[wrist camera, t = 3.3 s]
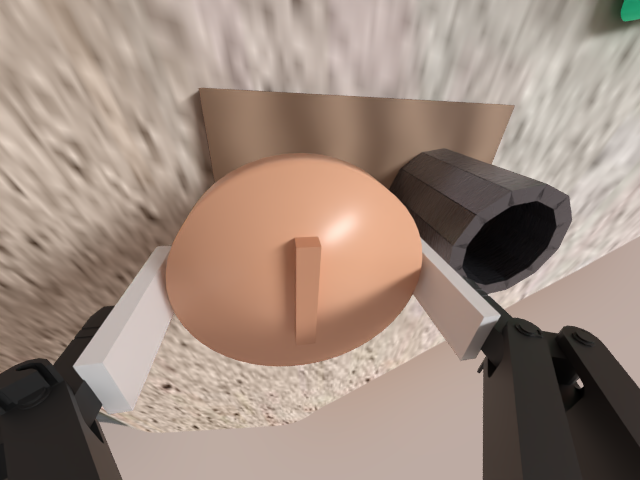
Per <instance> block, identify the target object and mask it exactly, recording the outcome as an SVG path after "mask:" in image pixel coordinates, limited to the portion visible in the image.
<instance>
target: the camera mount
mask: <svg viewBox="0 0 640 480" xmlns="http://www.w3.org/2000/svg"><path fill="white" fill-rule="evenodd" d="M621 18H622V20H623V21H632V20H637V19H640V0H624V3H623V6H622V9H621Z"/></svg>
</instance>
